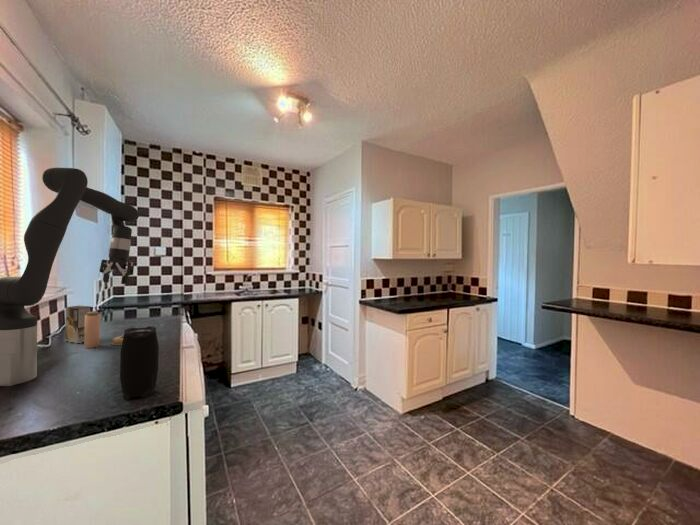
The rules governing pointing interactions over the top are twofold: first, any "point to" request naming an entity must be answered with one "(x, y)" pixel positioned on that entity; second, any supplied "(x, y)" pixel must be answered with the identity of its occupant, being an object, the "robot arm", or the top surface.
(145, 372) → the portable speaker
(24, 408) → the top surface
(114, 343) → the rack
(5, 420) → the top surface
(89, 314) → the jar
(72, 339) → the coffee box
